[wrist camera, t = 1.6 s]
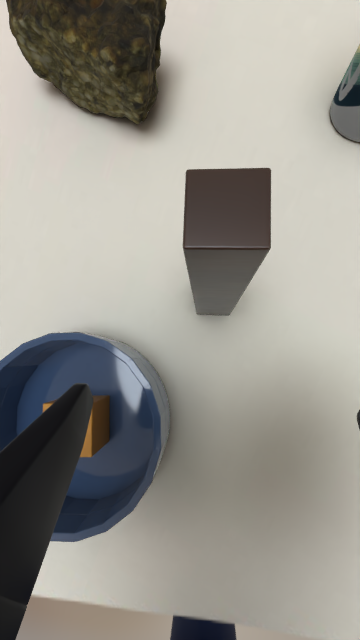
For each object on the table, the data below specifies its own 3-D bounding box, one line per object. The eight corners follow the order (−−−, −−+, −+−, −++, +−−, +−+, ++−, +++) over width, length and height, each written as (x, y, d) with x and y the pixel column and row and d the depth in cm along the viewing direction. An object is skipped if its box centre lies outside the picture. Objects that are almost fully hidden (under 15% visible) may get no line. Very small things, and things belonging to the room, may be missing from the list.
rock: (-47, 21, 17) (-23, -122, 17) (25, 110, 26) (43, 20, 26) (146, 85, 18) (177, -47, 18) (152, 150, 27) (173, 64, 27)
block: (109, 441, 21) (91, 457, 18) (66, 441, 21) (40, 457, 18) (109, 395, 22) (92, 402, 18) (67, 395, 22) (42, 403, 18)
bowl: (172, 504, 21) (163, 545, 16) (11, 500, 22) (-39, 538, 17) (168, 334, 22) (159, 329, 18) (18, 339, 23) (-26, 335, 19)
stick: (229, 315, 22) (271, 249, 8) (196, 314, 22) (182, 248, 8) (230, 283, 22) (271, 166, 8) (197, 282, 22) (185, 168, 9)
